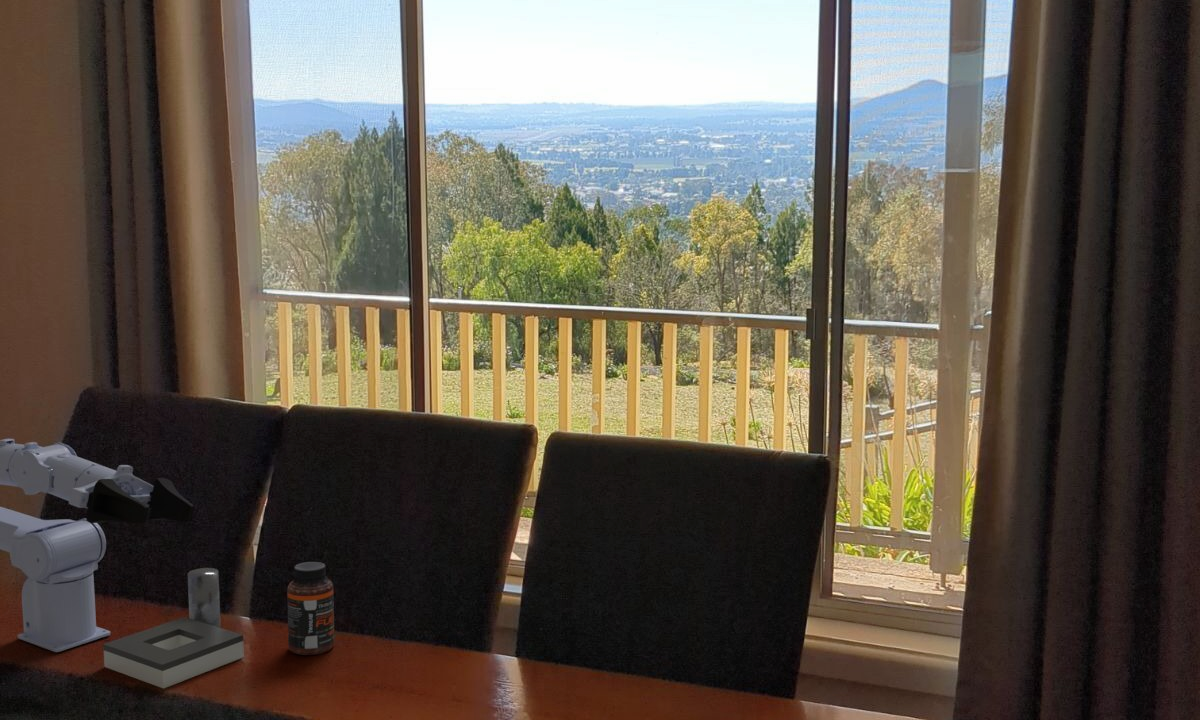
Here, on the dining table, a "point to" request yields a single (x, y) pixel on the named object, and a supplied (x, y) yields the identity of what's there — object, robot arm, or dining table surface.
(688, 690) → the dining table surface
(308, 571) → the supplement bottle
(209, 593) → the steel peg
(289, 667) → the dining table surface
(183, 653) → the socket
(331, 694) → the dining table surface
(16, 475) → the robot arm
